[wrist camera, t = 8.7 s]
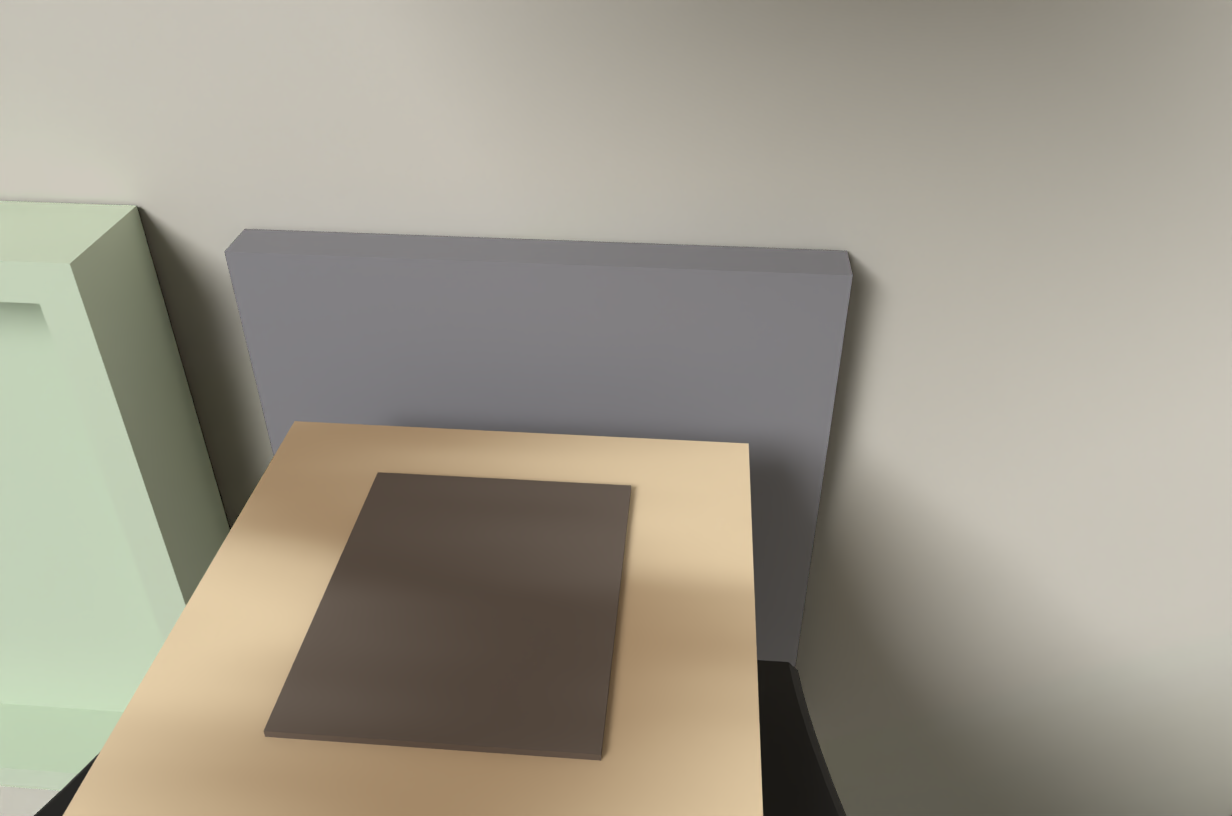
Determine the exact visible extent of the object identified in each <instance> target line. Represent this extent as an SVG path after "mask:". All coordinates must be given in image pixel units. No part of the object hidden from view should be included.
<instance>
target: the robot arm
mask: <svg viewBox="0 0 1232 816" xmlns="http://www.w3.org/2000/svg"><path fill="white" fill-rule="evenodd" d="M757 672H758V698H759V724H760V750H761V776H762V801H763V816H846V814H845V812H844V809H843V807H842V804H841V802H840V799H839V797H838V794H837V792H836V789H835V787H834V784H833V782H832V779H831V776H830V774H829V771H828V768H827V765H826V763H825V760H824V757H823V754H822V752H821V749H820V746H819V743H818V740H817V737H816V734H815V731H814V728H813V725H812V722H811V719H810V716H809V712H808V709H807V705H806V702H805V698H804V694H803V691H802V687H801V683H800V678H799V673H798V670H797V669H796V668H795V667H794V666H792V665H791V664H790V663H789V662H781V661H765V660H757ZM98 755H99V754H97V755H96V756H95V757H94V758H93V759H92V760H91V761H90V762H89V763H88V764H87V765H86V766H85V767H84V768H83V769H82V770H81V771H80V772H79V773H78V774H77V775H76V776H75V777H74V778H73V779H72V780H71V781H70V782H69V783H68V784H67V785H66V786H65V787H64V788H63V789H62V790H61V791H60V792H59V793H58V794H57V795H56V796H54V797H53V798H52V799H51V800H50V801H49V802H48V803H47V804H46V805H45V806H44V807H43V808H42V809H41V810H40V811H38V812H37V813H36V814H35V815H34V816H63V814H64V813H65V811H66V809H67V807H68V806H69V804H70V802H71V801H72V799H73V797H74V796H75V794H76V792H77V790H78V789H79V787H80V785H81V784H82V782H83V780H84V778H85V777H86V775H87V773H88V772H89V770H90V768H91V767H92V765H93V763H94V761H95V760H96V758H97V756H98Z"/></svg>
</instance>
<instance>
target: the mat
mask: <svg viewBox="0 0 1232 816" xmlns="http://www.w3.org/2000/svg"><path fill="white" fill-rule="evenodd" d="M225 256H226V261H227V265H228V269H229V273H230V277H231V281H232V285H233V289H234V294H235V298H236V302H237V306H238V310H239V314H240V318H241V323H242V327H243V331H244V335H245V339H246V343H247V347H248V352H249V356H250V360H251V364H252V368H253V372H254V376H255V380H256V385H257V389H258V393H259V397H260V401H261V405H262V409H263V414H264V418H265V422H266V426H267V430H268V434H269V438H270V443H271V447H272V451H273V455H275V454H276V452H277V450H278V448H279V447H280V445H281V443H282V442H283V440H284V438H285V437H286V435H287V433H288V431H289V430H290V428H291V426H292V425H293V423H294V421H301V422H321V423H342V424H362V425H382V426H403V427H423V428H443V429H464V430H484V431H505V432H525V433H545V434H566V435H586V436H607V437H627V438H647V439H668V440H688V441H708V442H729V443H749V466H750V492H751V518H752V543H753V569H754V595H755V621H756V647H757V660H765V661H781V662H789V663H790V664H791V665H792V666H794V667H795V666H796V659H797V652H798V645H799V638H800V632H801V625H802V618H803V611H804V604H805V598H806V591H807V584H808V577H809V570H810V563H811V557H812V550H813V543H814V536H815V529H816V523H817V516H818V509H819V502H820V495H821V489H822V482H823V475H824V468H825V461H826V454H827V448H828V441H829V434H830V427H831V420H832V414H833V407H834V400H835V393H836V386H837V380H838V373H839V366H840V359H841V352H842V345H843V339H844V332H845V325H846V318H847V311H848V305H849V298H850V291H851V284H852V277H853V274H852V270H851V265H850V261H849V257H848V252H847V251H838V250H811V249H783V248H755V247H728V246H700V245H672V244H645V243H617V242H589V241H562V240H534V239H506V238H479V237H451V236H424V235H396V234H368V233H341V232H313V231H285V230H258V229H244V230H243V231H242V233H241V234H240V235H239V236H238V237H237V238H236V239H235V240H234V241H233V243H232V244H231V245H230V246H229V247H228V248H227V249H226V250H225Z"/></svg>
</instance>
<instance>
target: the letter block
mask: <svg viewBox="0 0 1232 816" xmlns="http://www.w3.org/2000/svg"><path fill="white" fill-rule="evenodd" d="M63 816H763V801H762V776H761V750H760V724H759V698H758V672H757V647H756V621H755V595H754V569H753V543H752V518H751V492H750V466H749V443H729V442H708V441H688V440H668V439H647V438H627V437H607V436H586V435H566V434H545V433H525V432H505V431H484V430H464V429H443V428H423V427H403V426H382V425H362V424H342V423H321V422H301V421H294V423H293V425H292V426H291V428H290V430H289V431H288V433H287V435H286V437H285V438H284V440H283V442H282V443H281V445H280V447H279V448H278V450H277V452H276V454H275V455H274V457H273V459H272V460H271V462H270V464H269V465H268V467H267V469H266V471H265V472H264V474H263V476H262V477H261V479H260V481H259V482H258V484H257V486H256V488H255V489H254V491H253V493H252V494H251V496H250V498H249V499H248V501H247V503H246V505H245V506H244V508H243V510H242V511H241V513H240V515H239V516H238V518H237V520H236V522H235V523H234V525H233V527H232V528H231V530H230V532H229V533H228V535H227V537H226V539H225V540H224V542H223V544H222V545H221V547H220V549H219V551H218V552H217V554H216V556H215V557H214V559H213V561H212V562H211V564H210V566H209V568H208V569H207V571H206V573H205V574H204V576H203V578H202V579H201V581H200V583H199V585H198V586H197V588H196V590H195V591H194V593H193V595H192V596H191V598H190V600H189V602H188V603H187V605H186V607H185V608H184V610H183V612H182V613H181V615H180V617H179V619H178V620H177V622H176V624H175V625H174V627H173V629H172V630H171V632H170V634H169V636H168V637H167V639H166V641H165V642H164V644H163V646H162V647H161V649H160V651H159V653H158V654H157V656H156V658H155V659H154V661H153V663H152V664H151V666H150V668H149V670H148V671H147V673H146V675H145V676H144V678H143V680H142V682H141V683H140V685H139V687H138V688H137V690H136V692H135V693H134V695H133V697H132V699H131V700H130V702H129V704H128V705H127V707H126V709H125V710H124V712H123V714H122V716H121V717H120V719H119V721H118V722H117V724H116V726H115V727H114V729H113V731H112V733H111V734H110V736H109V738H108V739H107V741H106V743H105V744H104V746H103V748H102V750H101V751H100V753H99V755H98V756H97V758H96V760H95V761H94V763H93V765H92V767H91V768H90V770H89V772H88V773H87V775H86V777H85V778H84V780H83V782H82V784H81V785H80V787H79V789H78V790H77V792H76V794H75V796H74V797H73V799H72V801H71V802H70V804H69V806H68V807H67V809H66V811H65V813H64V814H63Z"/></svg>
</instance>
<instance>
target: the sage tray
mask: <svg viewBox="0 0 1232 816" xmlns="http://www.w3.org/2000/svg"><path fill="white" fill-rule="evenodd" d="M229 532H230V529H229V526H228V522H227V519H226V515H225V512H224V508H223V505H222V501H221V498H220V494H219V491H218V487H217V484H216V480H215V477H214V473H213V470H212V466H211V463H210V459H209V456H208V452H207V449H206V446H205V442H204V439H203V435H202V432H201V428H200V425H199V421H198V418H197V414H196V411H195V407H194V404H193V400H192V397H191V393H190V390H189V386H188V383H187V379H186V376H185V373H184V369H183V366H182V362H181V359H180V355H179V352H178V348H177V345H176V341H175V338H174V334H173V331H172V327H171V324H170V320H169V317H168V313H167V310H166V306H165V303H164V300H163V296H162V293H161V289H160V286H159V282H158V279H157V275H156V272H155V268H154V265H153V261H152V258H151V254H150V251H149V247H148V244H147V240H146V237H145V233H144V230H143V227H142V223H141V220H140V216H139V213H138V209H137V206H133V205H105V204H76V203H47V202H18V201H0V786H5V787H18V788H31V789H44V790H57V791H61V790H62V789H63V788H64V787H65V786H66V785H67V784H68V783H69V782H70V781H71V780H72V779H73V778H74V777H75V776H76V775H77V774H78V773H79V772H80V771H81V770H82V769H83V768H84V767H85V766H86V765H87V764H88V763H89V762H90V761H91V760H92V759H93V758H94V757H95V756H96V755H97V754H99V753H100V751H101V750H102V748H103V746H104V744H105V743H106V741H107V739H108V738H109V736H110V734H111V733H112V731H113V729H114V727H115V726H116V724H117V722H118V721H119V719H120V717H121V716H122V714H123V712H124V710H125V709H126V707H127V705H128V704H129V702H130V700H131V699H132V697H133V695H134V693H135V692H136V690H137V688H138V687H139V685H140V683H141V682H142V680H143V678H144V676H145V675H146V673H147V671H148V670H149V668H150V666H151V664H152V663H153V661H154V659H155V658H156V656H157V654H158V653H159V651H160V649H161V647H162V646H163V644H164V642H165V641H166V639H167V637H168V636H169V634H170V632H171V630H172V629H173V627H174V625H175V624H176V622H177V620H178V619H179V617H180V615H181V613H182V612H183V610H184V608H185V607H186V605H187V603H188V602H189V600H190V598H191V596H192V595H193V593H194V591H195V590H196V588H197V586H198V585H199V583H200V581H201V579H202V578H203V576H204V574H205V573H206V571H207V569H208V568H209V566H210V564H211V562H212V561H213V559H214V557H215V556H216V554H217V552H218V551H219V549H220V547H221V545H222V544H223V542H224V540H225V539H226V537H227V535H228V533H229Z"/></svg>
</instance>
